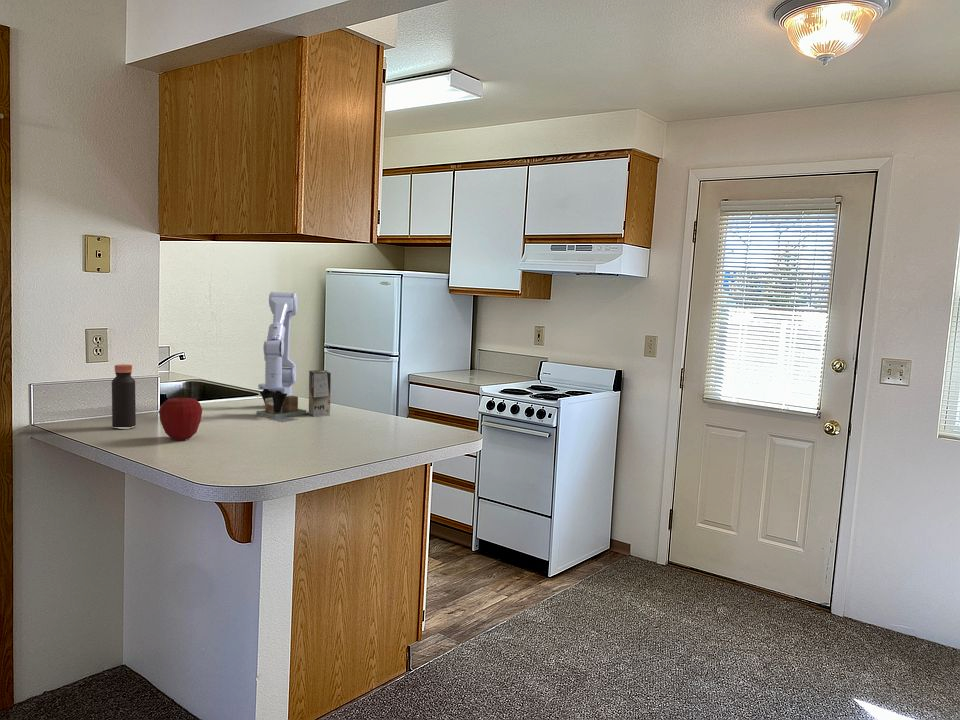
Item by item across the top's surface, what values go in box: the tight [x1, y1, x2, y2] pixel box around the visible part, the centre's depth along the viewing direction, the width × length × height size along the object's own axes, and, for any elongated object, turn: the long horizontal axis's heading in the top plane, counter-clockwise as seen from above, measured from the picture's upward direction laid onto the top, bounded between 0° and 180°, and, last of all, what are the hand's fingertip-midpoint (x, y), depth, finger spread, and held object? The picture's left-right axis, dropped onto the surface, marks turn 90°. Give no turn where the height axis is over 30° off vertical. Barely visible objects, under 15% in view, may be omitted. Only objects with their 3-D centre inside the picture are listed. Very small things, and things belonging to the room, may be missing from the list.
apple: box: [158, 395, 203, 441], centre depth 219 cm, size 12×12×13 cm
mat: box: [269, 416, 299, 423], centre depth 254 cm, size 7×7×1 cm
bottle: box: [111, 363, 137, 427], centre depth 232 cm, size 7×7×20 cm
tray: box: [256, 408, 307, 419], centre depth 265 cm, size 10×14×2 cm
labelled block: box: [264, 398, 282, 414], centre depth 261 cm, size 4×4×6 cm
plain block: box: [282, 395, 299, 413], centre depth 267 cm, size 4×4×6 cm
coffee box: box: [308, 369, 332, 417], centre depth 267 cm, size 9×6×16 cm
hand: (273, 411), depth 262 cm, fingers closed on labelled block, 4 cm apart
